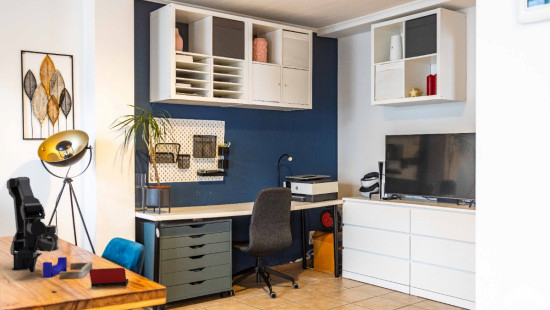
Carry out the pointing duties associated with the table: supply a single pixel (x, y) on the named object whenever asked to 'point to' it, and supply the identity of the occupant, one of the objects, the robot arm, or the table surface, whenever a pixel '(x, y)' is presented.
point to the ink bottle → (51, 235)
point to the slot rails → (76, 274)
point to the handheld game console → (108, 277)
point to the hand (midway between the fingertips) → (32, 272)
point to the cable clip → (54, 267)
